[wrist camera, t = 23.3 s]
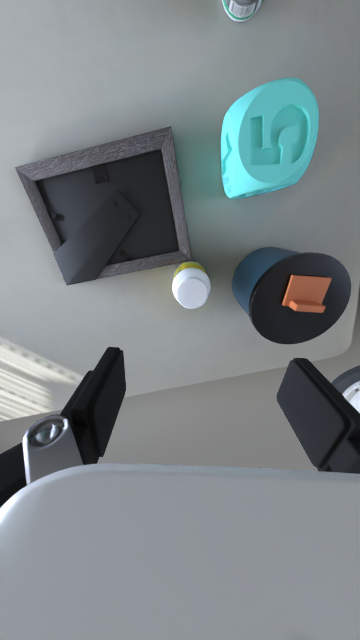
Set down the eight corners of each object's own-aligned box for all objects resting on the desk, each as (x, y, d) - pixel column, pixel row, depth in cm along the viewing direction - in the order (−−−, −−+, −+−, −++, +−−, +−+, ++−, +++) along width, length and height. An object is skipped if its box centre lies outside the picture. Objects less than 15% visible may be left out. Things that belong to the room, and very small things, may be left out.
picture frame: (73, 282, 33) (191, 258, 31) (66, 285, 31) (192, 260, 30) (23, 170, 26) (171, 132, 25) (12, 166, 25) (170, 124, 23)
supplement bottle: (177, 257, 31) (175, 268, 22) (209, 263, 32) (219, 277, 23) (171, 288, 34) (167, 310, 25) (201, 294, 34) (208, 317, 25)
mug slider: (317, 307, 23) (328, 313, 21) (281, 304, 23) (289, 310, 21) (329, 277, 21) (342, 281, 20) (291, 274, 21) (300, 278, 20)
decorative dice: (218, 130, 24) (233, 89, 17) (282, 115, 24) (326, 65, 17) (223, 202, 28) (237, 192, 21) (279, 190, 27) (314, 176, 20)
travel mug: (286, 313, 36) (328, 347, 25) (225, 310, 35) (242, 342, 25) (308, 247, 30) (371, 257, 20) (237, 242, 30) (264, 249, 20)
